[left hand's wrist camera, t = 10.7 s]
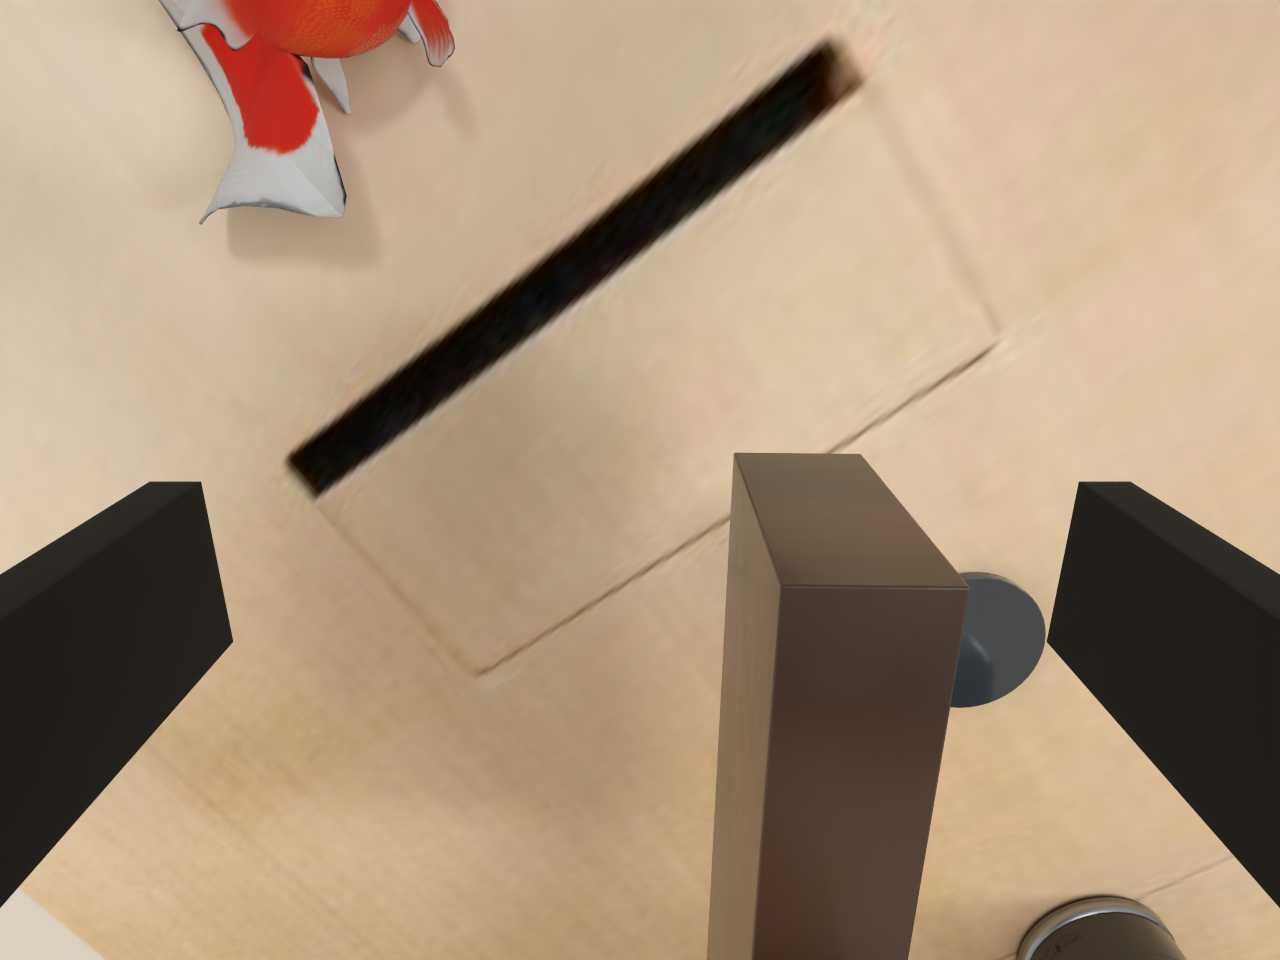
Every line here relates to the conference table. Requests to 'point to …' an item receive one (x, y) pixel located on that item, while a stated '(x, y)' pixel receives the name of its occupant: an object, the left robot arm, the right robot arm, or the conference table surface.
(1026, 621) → the coaster
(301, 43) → the fish
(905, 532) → the bar
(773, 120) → the conference table surface
